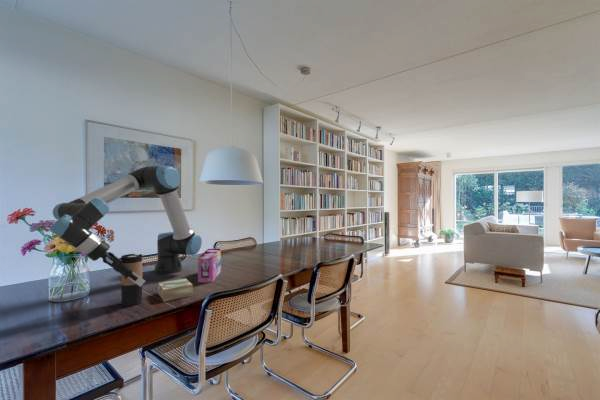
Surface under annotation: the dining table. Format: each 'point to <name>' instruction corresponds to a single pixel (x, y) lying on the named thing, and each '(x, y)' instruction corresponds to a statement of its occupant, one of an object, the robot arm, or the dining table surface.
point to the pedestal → (175, 289)
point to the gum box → (209, 265)
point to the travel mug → (128, 288)
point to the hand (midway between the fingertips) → (141, 281)
